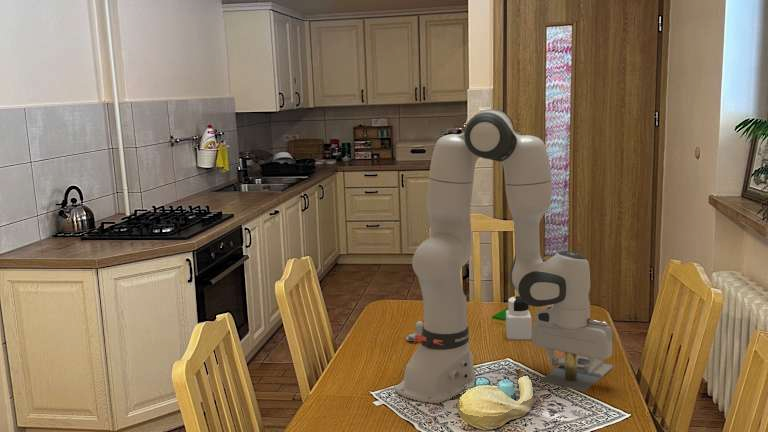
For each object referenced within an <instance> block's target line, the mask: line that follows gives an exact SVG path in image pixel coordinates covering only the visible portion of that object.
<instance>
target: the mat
mask: <svg viewBox="0 0 768 432" xmlns="http://www.w3.org/2000/svg"><path fill="white" fill-rule="evenodd" d="M603 364H607V365H612V369H613V368H614V367H615V366H616V365H614V364H610V363H605V362H603ZM579 365H584V364H579ZM584 366H585V365H584ZM610 371H611V370H609V371H608V372H610ZM603 377H604V376H602V377H597V376H593V375H588V374H583V373H579V372H577V380H576V381H568V380H565V366H560V365H558V366H556V368H555V369H553V370H552V371H551V372H549V373H548V374H547V375H545V376H544V377H542V378H541V379H540V380H539V382H542V383H545V384H550V385H555V386H559V387H562V388H563V387H564V388H567V389H572V390H576V391H580V392H585V393H586V392H587V391H588V390H589V389H591V387H592V386H594V385H595V384H596V383H597V382H598V381H599V380H601V379H602V378H603Z"/></svg>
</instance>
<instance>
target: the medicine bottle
mask: <svg viewBox="0 0 768 432" xmlns="http://www.w3.org/2000/svg"><path fill="white" fill-rule="evenodd" d="M507 301H508V302H507V305H508V307H507V308H508V310H506V325H505V333H506V337H507V340H511V341H512V340H515V341H516V340H519V341H520V340H521V341H523V340H524V341H526V340H528V341H529V340H531V341H532V327H533V324H532V322H533V321H532V319H533V318H532V315H531V311H530V312H529V309H530V308H529V306H530V305H528V304H526V303H525V302H524V301H523V300H522V299H521V297H520V296H519V295H516V296H512V297H509V298H508V300H507Z"/></svg>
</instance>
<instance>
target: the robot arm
mask: <svg viewBox="0 0 768 432" xmlns="http://www.w3.org/2000/svg"><path fill="white" fill-rule="evenodd" d="M480 158H481V159H486V160H492V161H494V162H501V163H502V167H503V173H504V186H505V187H504V188H505V194H506V201H507V204H508V209H509V212H510V214H511V217H512V218H511V219H512V223H513V229H514V251H515V252H514V254H515V255H514V259H513V262H512V265H511V267H510V271H509V281H510V284H511V287H513V288H514V290H515V291H516V293H517V294H518V296H520V297H521V299H522V300H523V301H524V302H525V303H526V304H528V305H529V306H530V307H536V308H537V307H539V308H540V307H542V308H540V309H539V310H537V311H536V312H534V319H535V321H534V322H533V324H532V338H531V343H532V344H533V345H534V346H535V347H539V348H543V349H545V352H546V353H545V354H547V357H548V358H549V363H550V364H549V365H550V366H555V367H558V366H559V365H558V361H559V357H556V355H555V353H554V351H559V352H562V353H565V352H568V353H573V354H577V355H578V356H583V357H588V360H589V361H590V363H589V364H586V365H585V366H584V372H585V373H589V374H590V373H591V372H592V365H593V364H594V363H595V361H596V360H602V361H606V360H608V359H609V358H610V357H611V356H612V355H613V350H614V349H613V341H612V338H613V328H612V326H611V325H610V324H609V323H607V321H603V320H597V319H592V318H591V302H590V298H589V295H590V291H591V273H590V272H591V270H590V263H589V260H588V259H587V258H586V257H585V256H584V255H582V254H580V253H577V252H575V251H571V250H570V251H568V250H562V251H561V250H560V251H558V252H557V253H555V254H554V255H553V256H551V257H550V258H548V259H545V260H544V261H543V258H542V255H541V244H540V243H541V242H540V241H541V239H540V223H541V219H543V216H544V215H546V213H547V212H548V211H549V209H550V208H551V203H552V195H553V192H552V191H553V186H552V185H553V182H552V181H553V180H552V172H551V171H552V170H551V165H550V160H549V155H548V151H547V147H546V145H545V142H544V141H543V140H542V139H541V138H539V137H538V136H534V135H530V134H526V135H520V134H517V132H515V126H514V122H513V120H512V118H511V117H510V116H509V115H508V114H507V113H506V112H505V111H503V110H500V109H496V108H489V109H484V110H481V111H479V112H477V113H475V114H474V115H473V117H471V118H470V119H469V121H468V122H467V123H466V126H465V127H464V132H462V133H458V134H455V133H450V134H446V135H443V136H441V137H440V138H439V139H437V140H436V143H435V145H434V148H433V152H432V157H431V161H430V166H429V174H428V185H427V196H426V211H427V214H428V218H429V219H428V220H429V236H428V238H427V239H425V240H423V241H422V242H421V243H420V244H419V245H418V246H417V248H416V250H415V252H414V254H413V256H412V260H411V261H412V262H411V263H412V264H411V265H412V268H413V272H414V273H415V275H416V276H417V278H418V282H419V286H420V291H421V296H422V306H423V307H422V308H423V328H422V332H421V335H420V334H415V336H414V337H415V338H414V340H415V341H416V342H415V343H417V342H418V343H419V346H418V348H417V349H416V350H415V352H414V353H413V354H412V356H411V358H410V359H409V361H408V363H407V364H406V366H405V368H404V374H403V375H404V377H403V380H402V381H400V383H398V384H397V385H396V386H395V387H394V392H397V393H396V394H398V395H399V394H400V395H399V396H401V395H402V397H403V396H404V397H403V398H406V397H407V398H406V399H409V398H410V400H412V399H413V400H412V401H416V400H417V401H416V402H420V401H421V402H422V403H426V402H429V403H428V404H440V402H441V403H444V402H446V401H448V400H450V399H449V398H451V399H453V398H455V397H457V396H456V395H458V394H460V393H462V392H464V391H465V390H467V389H466V388H463V387H465V386H467V385H468V384H470V383H472V382H473V381H475V380H476V376H475V367H474V358H473V353H472V351H471V349H470V347H469V346H470V345H469V341H470V338H469V337H470V331H469V326H468V325H467V322H468V321H467V320H468V318H467V317H468V316H467V312H468V311H467V297H466V295H465V292H464V290H463V289H464V288H463V284H462V279H461V270H462V267H464V266H465V265H466V264H467V263H468V262H469V260H470V258H471V255H472V253H473V248H474V247H473V241H472V240H473V239H472V225H471V223H472V222H471V209H472V199H473V198H472V197H473V188H474V187H473V186H474V181H475V180H474V178H475V171H476V170H475V169H476V165H477V162H478V160H479V159H480ZM462 394H463V393H462ZM460 395H461V394H460ZM454 396H455V397H454ZM458 396H459V395H458ZM452 397H453V398H452ZM447 399H448V400H447ZM445 400H446V401H445ZM443 401H444V402H443ZM421 402H420V403H421Z"/></svg>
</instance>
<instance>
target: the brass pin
mask: <svg viewBox="0 0 768 432" xmlns="http://www.w3.org/2000/svg"><path fill="white" fill-rule="evenodd" d="M564 356H565V380H568V381H576V380H577V354H573V353H568V352H564Z"/></svg>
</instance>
